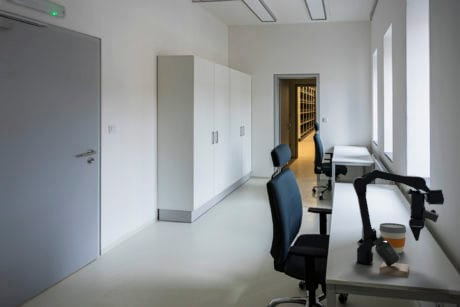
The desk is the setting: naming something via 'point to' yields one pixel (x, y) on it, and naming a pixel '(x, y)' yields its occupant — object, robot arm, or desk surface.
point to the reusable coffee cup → (394, 235)
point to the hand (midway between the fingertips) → (417, 238)
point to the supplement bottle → (386, 251)
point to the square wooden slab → (395, 269)
